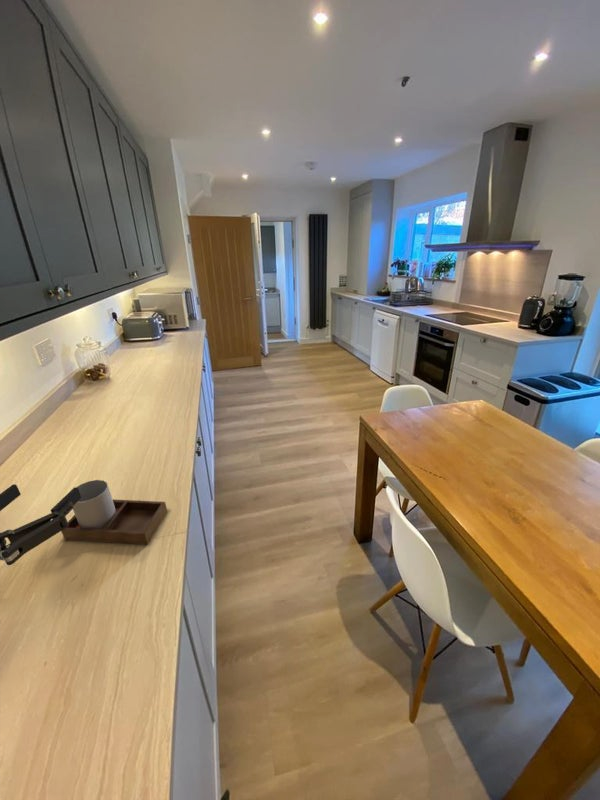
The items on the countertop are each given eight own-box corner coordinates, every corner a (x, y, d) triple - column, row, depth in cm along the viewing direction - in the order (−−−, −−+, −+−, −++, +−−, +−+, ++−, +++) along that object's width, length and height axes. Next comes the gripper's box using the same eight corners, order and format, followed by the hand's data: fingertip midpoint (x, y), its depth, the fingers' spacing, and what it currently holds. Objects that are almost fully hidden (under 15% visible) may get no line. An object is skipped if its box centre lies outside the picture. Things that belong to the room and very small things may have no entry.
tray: (64, 540, 80) (60, 529, 79) (93, 508, 91) (90, 498, 89) (147, 544, 79) (144, 534, 78) (167, 511, 89) (165, 501, 88)
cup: (96, 537, 80) (85, 506, 76) (72, 528, 82) (60, 497, 78) (124, 513, 87) (115, 483, 83) (101, 506, 89) (91, 477, 85)
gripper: (-123, 595, 51) (-2, 501, 71) (25, 606, 50) (108, 507, 69) (-151, 563, 48) (-16, 474, 67) (6, 573, 47) (99, 479, 66)
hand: (47, 490), depth 68 cm, fingers open, 13 cm apart
